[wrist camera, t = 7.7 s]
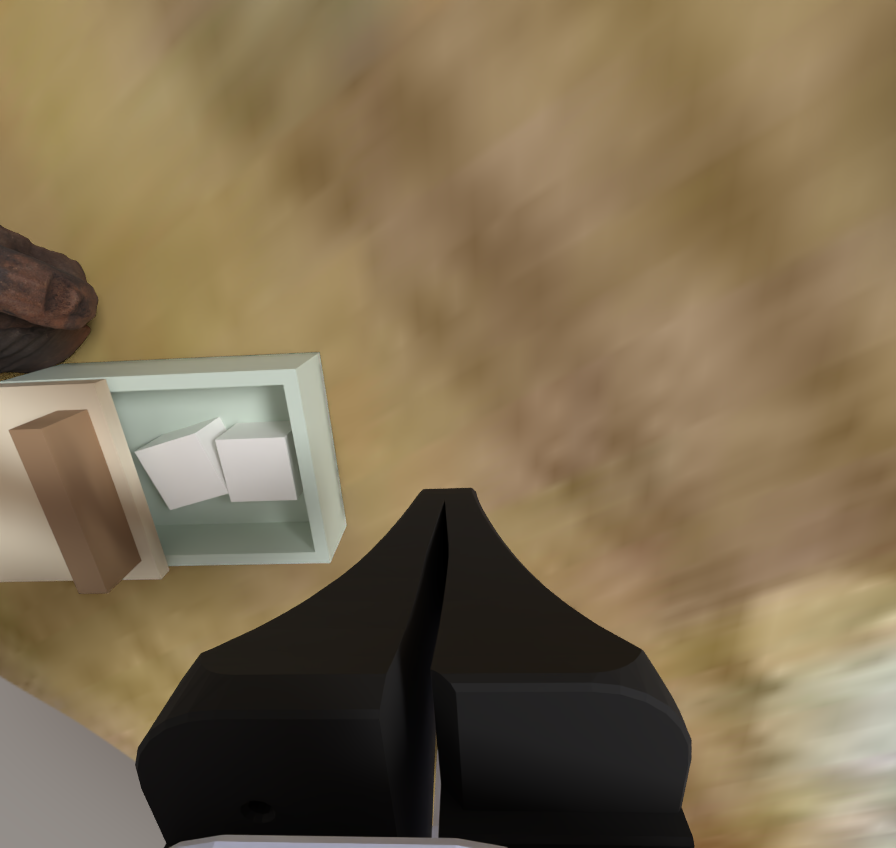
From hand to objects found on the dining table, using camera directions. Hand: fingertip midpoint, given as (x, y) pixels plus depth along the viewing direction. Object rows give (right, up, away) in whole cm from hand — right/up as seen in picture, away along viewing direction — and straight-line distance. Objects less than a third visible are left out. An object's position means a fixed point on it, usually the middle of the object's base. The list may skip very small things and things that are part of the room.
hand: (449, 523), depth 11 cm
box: (-11, +1, +11) cm, 16 cm away
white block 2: (-8, +1, +10) cm, 13 cm away
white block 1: (-11, +1, +10) cm, 15 cm away
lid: (-19, 0, +8) cm, 21 cm away
